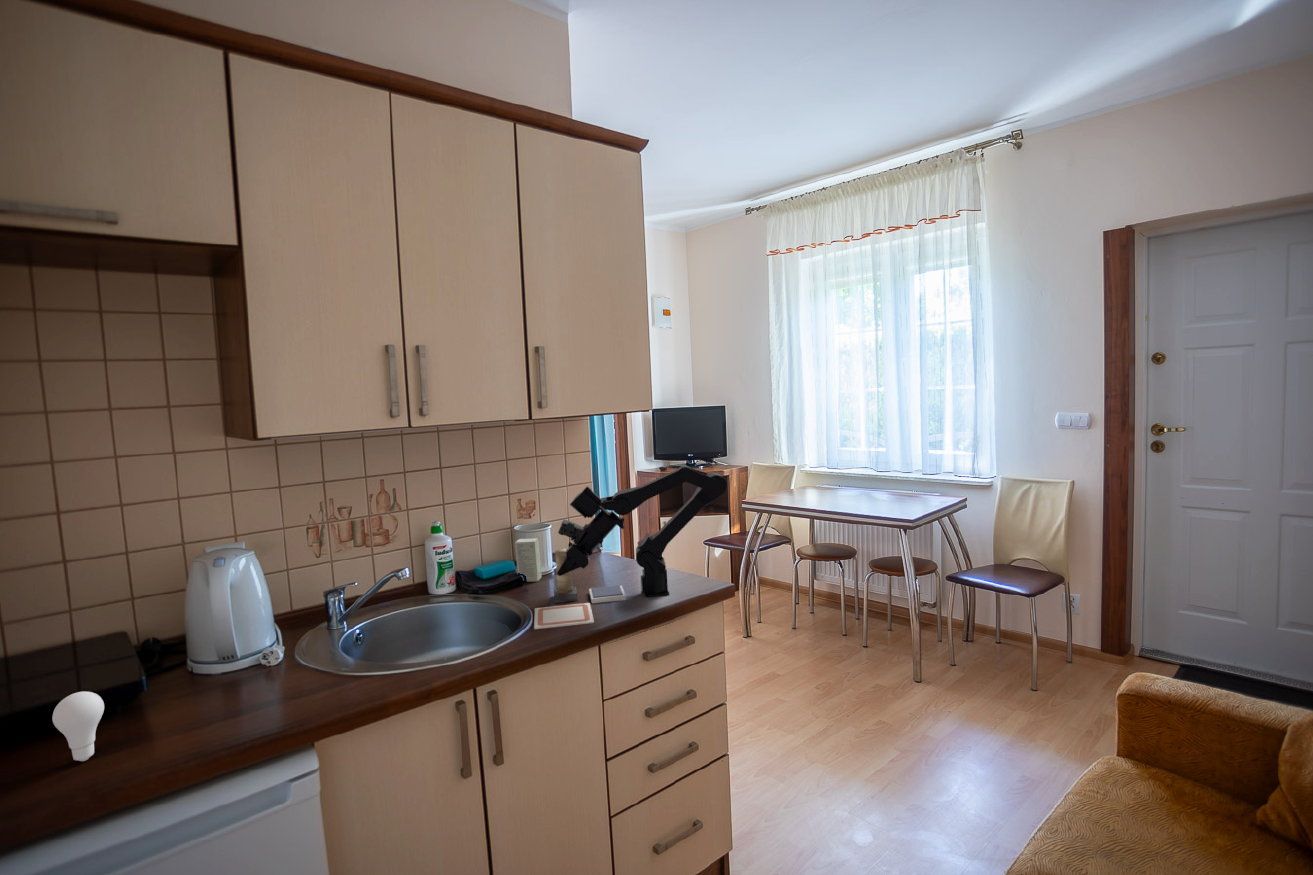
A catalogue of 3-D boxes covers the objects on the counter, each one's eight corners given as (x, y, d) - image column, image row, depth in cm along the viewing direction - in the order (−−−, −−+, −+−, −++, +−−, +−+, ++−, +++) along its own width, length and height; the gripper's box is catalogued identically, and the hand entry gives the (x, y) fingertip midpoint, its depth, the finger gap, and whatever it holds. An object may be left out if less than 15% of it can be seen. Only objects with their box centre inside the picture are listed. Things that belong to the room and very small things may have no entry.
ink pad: (621, 589, 178) (621, 584, 177) (626, 599, 169) (625, 594, 169) (589, 592, 176) (589, 587, 176) (591, 603, 167) (591, 597, 167)
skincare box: (542, 577, 193) (539, 537, 192) (537, 581, 189) (535, 541, 188) (521, 577, 194) (519, 538, 193) (517, 582, 190) (514, 541, 189)
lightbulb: (49, 767, 101) (41, 699, 100) (95, 746, 106) (87, 682, 106) (73, 774, 98) (64, 705, 98) (118, 752, 104) (111, 687, 103)
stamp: (576, 593, 176) (573, 547, 175) (577, 600, 170) (574, 552, 169) (554, 595, 175) (551, 549, 174) (554, 602, 169) (551, 554, 168)
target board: (589, 604, 167) (589, 602, 167) (594, 622, 153) (593, 620, 153) (535, 609, 164) (534, 607, 164) (534, 629, 151) (534, 627, 150)
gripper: (577, 503, 180) (540, 544, 181) (572, 516, 162) (531, 562, 162) (607, 529, 181) (570, 570, 181) (605, 545, 163) (564, 590, 163)
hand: (558, 572), depth 172 cm, fingers closed on stamp, 4 cm apart
